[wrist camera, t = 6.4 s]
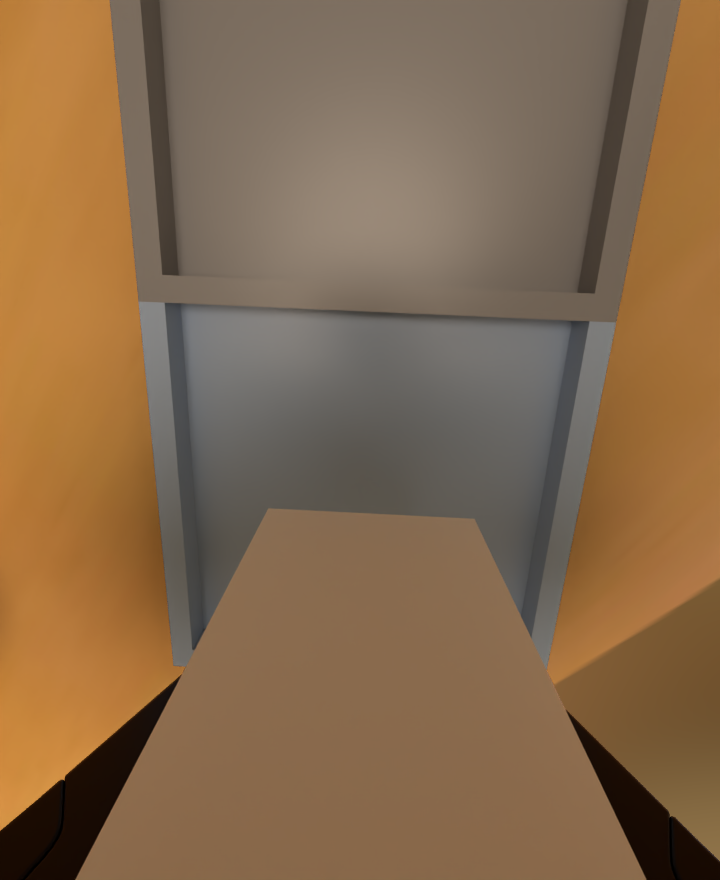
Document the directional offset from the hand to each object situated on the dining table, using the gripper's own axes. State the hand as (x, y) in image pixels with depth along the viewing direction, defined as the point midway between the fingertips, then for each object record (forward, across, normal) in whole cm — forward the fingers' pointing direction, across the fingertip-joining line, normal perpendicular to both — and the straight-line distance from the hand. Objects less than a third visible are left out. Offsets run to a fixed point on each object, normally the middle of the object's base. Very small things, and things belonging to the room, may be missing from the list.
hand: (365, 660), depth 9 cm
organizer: (+9, 0, -7) cm, 11 cm away
